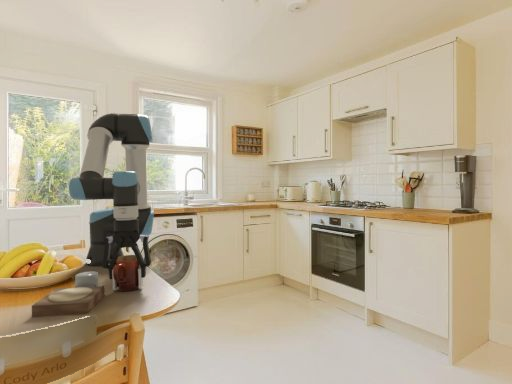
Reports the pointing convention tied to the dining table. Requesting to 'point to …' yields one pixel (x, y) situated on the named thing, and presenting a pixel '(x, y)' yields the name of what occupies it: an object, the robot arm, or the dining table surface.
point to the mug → (126, 273)
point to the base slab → (68, 301)
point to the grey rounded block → (86, 279)
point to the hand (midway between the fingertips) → (128, 287)
